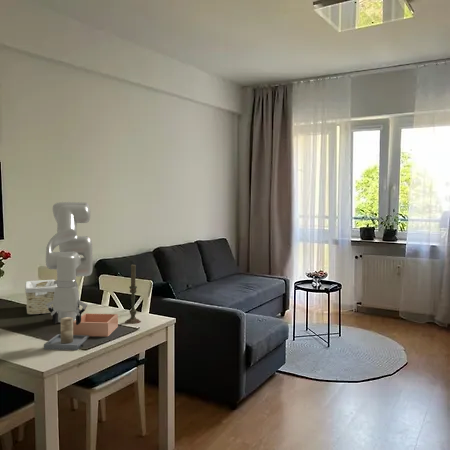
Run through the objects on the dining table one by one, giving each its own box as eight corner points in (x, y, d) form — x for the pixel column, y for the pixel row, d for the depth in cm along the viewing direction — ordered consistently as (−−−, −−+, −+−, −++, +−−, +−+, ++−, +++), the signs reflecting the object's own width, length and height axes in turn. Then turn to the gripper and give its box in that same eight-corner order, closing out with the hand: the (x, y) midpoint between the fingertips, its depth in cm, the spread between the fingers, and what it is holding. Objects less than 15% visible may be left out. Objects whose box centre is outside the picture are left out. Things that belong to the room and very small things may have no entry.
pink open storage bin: (72, 337, 210) (72, 322, 209) (84, 327, 226) (84, 313, 225) (108, 338, 209) (108, 323, 209) (118, 328, 225) (117, 314, 225)
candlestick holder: (132, 327, 227) (133, 265, 226) (119, 324, 233) (119, 263, 231) (146, 323, 235) (146, 263, 233) (132, 320, 240) (133, 261, 238)
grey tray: (43, 349, 194) (43, 344, 194) (57, 338, 208) (57, 334, 208) (77, 349, 193) (77, 345, 193) (88, 339, 207) (88, 335, 207)
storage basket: (25, 306, 268) (25, 280, 267) (55, 303, 274) (55, 278, 274) (25, 316, 246) (25, 288, 245) (58, 313, 252) (58, 286, 251)
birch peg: (58, 343, 198) (58, 320, 198) (63, 339, 203) (63, 317, 203) (70, 343, 198) (70, 320, 197) (74, 340, 203) (74, 317, 202)
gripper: (42, 285, 196) (43, 325, 197) (83, 286, 195) (83, 326, 197) (50, 281, 203) (50, 320, 205) (89, 282, 203) (89, 321, 204)
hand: (66, 323), depth 201 cm, fingers open, 9 cm apart
